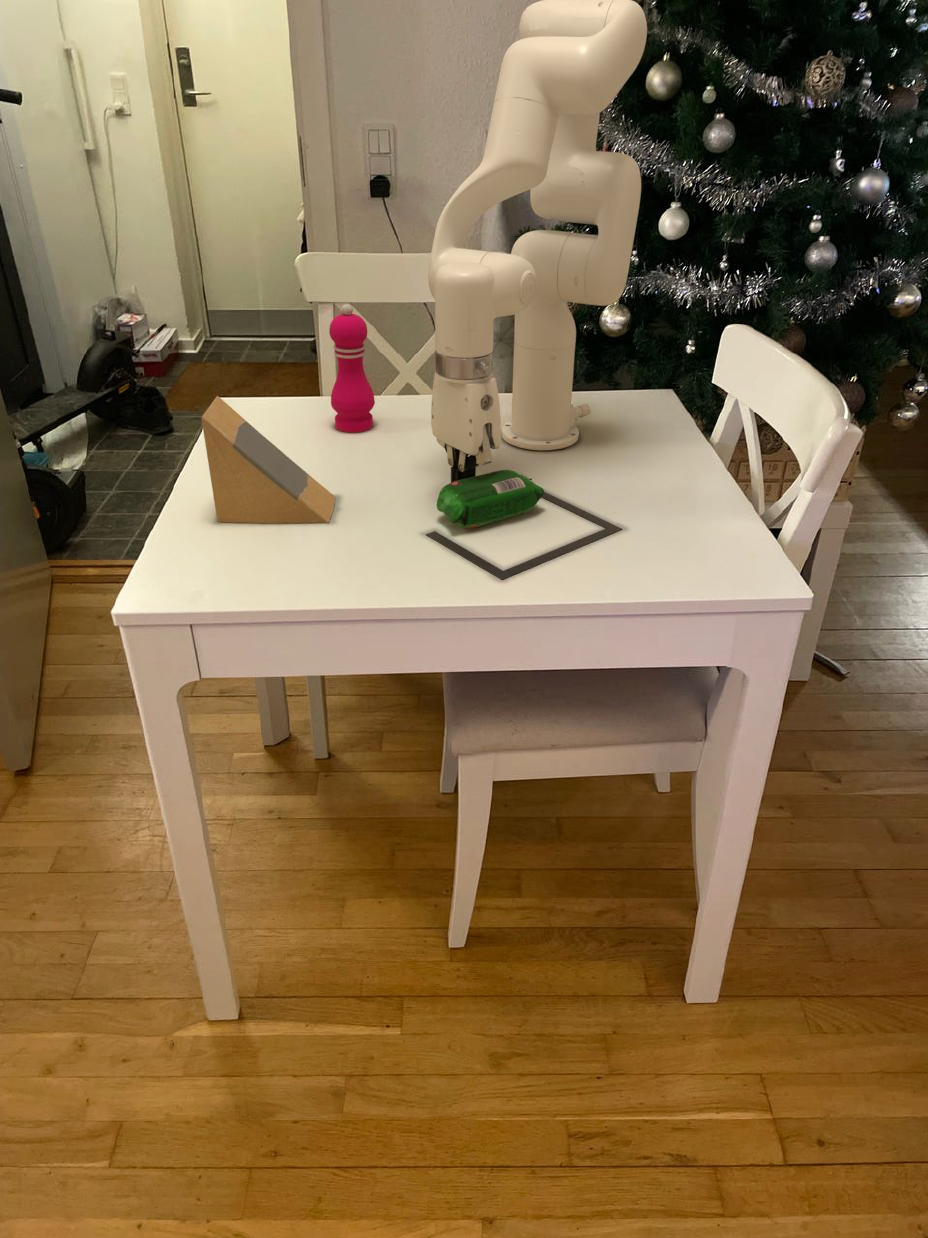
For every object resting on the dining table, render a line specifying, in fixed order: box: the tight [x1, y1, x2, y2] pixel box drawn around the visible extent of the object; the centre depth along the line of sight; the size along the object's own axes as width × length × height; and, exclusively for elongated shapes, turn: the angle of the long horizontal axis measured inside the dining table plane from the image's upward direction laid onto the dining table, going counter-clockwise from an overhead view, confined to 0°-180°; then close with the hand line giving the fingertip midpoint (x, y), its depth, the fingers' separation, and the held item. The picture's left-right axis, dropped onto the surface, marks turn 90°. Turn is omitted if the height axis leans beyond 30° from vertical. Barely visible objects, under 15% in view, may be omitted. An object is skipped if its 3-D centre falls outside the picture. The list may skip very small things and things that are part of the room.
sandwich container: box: [201, 395, 337, 524], centre depth 127 cm, size 9×15×15 cm, turn 90°
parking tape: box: [425, 491, 623, 581], centre depth 126 cm, size 22×15×1 cm
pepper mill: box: [328, 303, 376, 434], centre depth 153 cm, size 7×7×20 cm
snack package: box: [436, 469, 545, 529], centre depth 129 cm, size 7×16×5 cm, turn 120°
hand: (463, 492), depth 133 cm, fingers closed
